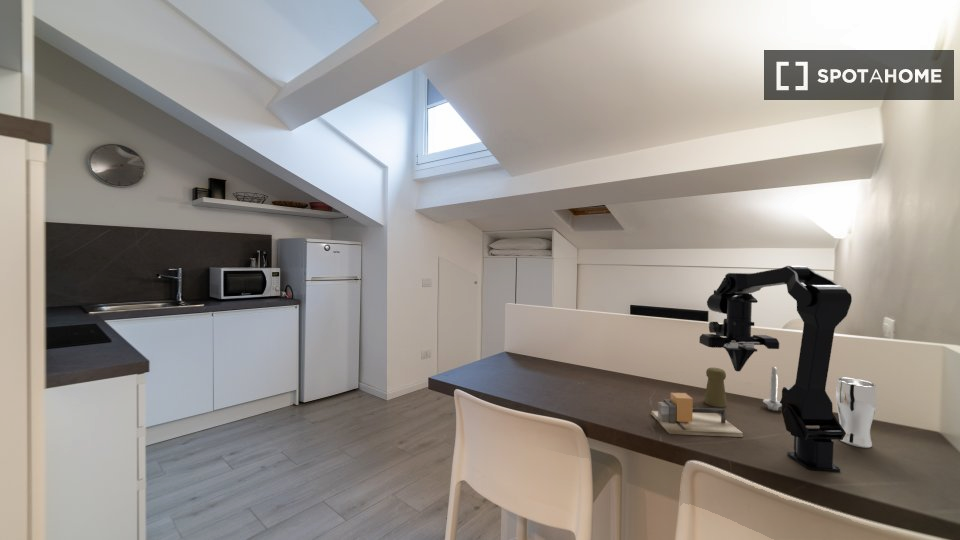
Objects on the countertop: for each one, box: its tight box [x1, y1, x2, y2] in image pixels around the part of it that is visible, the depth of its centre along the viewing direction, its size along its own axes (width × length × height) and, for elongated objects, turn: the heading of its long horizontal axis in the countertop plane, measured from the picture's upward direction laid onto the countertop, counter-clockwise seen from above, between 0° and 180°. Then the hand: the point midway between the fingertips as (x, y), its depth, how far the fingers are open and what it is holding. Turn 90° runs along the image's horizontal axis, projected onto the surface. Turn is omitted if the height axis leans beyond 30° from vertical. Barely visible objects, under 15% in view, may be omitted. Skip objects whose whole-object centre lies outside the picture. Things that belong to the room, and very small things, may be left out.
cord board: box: [650, 398, 744, 438], centre depth 99 cm, size 12×18×6 cm, turn 85°
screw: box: [762, 366, 782, 412], centre depth 110 cm, size 13×5×5 cm
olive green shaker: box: [703, 367, 728, 408], centre depth 114 cm, size 6×6×11 cm
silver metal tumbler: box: [835, 377, 877, 449], centre depth 90 cm, size 7×7×15 cm
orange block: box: [670, 392, 694, 422], centre depth 99 cm, size 4×4×6 cm
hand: (737, 371), depth 104 cm, fingers closed
